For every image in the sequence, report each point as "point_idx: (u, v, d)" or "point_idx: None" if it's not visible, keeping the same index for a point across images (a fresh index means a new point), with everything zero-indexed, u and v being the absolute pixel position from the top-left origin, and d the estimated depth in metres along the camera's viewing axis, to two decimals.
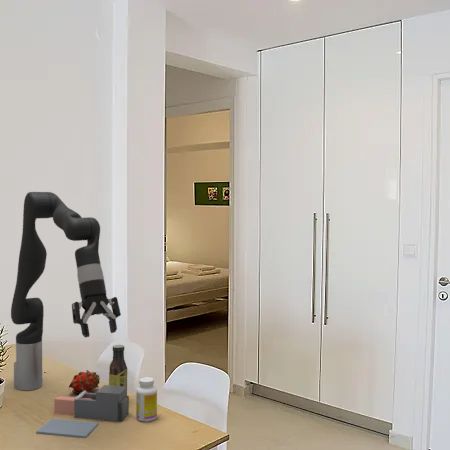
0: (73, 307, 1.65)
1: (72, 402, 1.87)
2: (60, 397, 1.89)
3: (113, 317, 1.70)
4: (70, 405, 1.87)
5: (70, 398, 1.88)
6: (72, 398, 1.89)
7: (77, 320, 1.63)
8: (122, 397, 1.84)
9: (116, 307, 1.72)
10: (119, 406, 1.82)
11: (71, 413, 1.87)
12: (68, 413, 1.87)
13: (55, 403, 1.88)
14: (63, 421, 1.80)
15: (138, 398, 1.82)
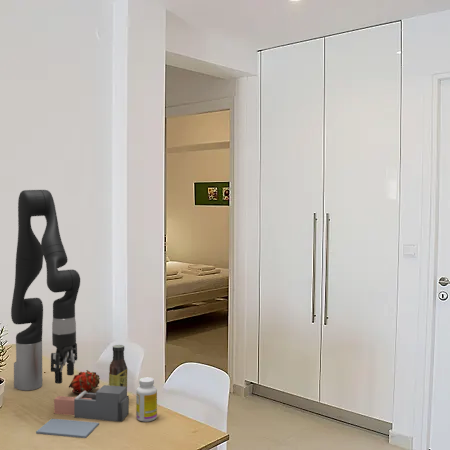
0: (54, 357, 1.81)
1: (72, 402, 1.87)
2: (60, 397, 1.89)
3: (74, 362, 1.92)
4: (70, 405, 1.87)
5: (70, 398, 1.88)
6: (72, 398, 1.89)
7: (57, 370, 1.81)
8: (122, 397, 1.84)
9: (75, 352, 1.93)
10: (119, 406, 1.82)
11: (71, 413, 1.87)
12: (68, 413, 1.87)
13: (55, 403, 1.88)
14: (63, 421, 1.80)
15: (138, 398, 1.82)
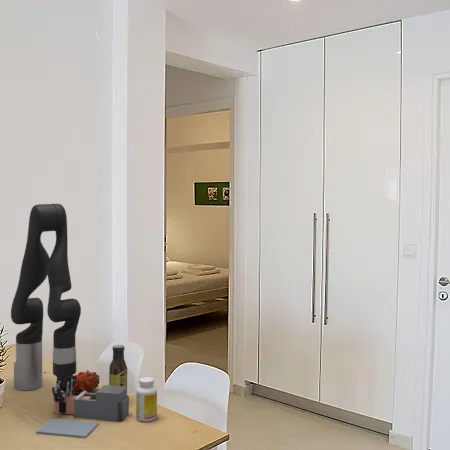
0: (55, 392, 1.82)
1: (71, 401, 1.87)
2: None
3: None
4: (69, 403, 1.87)
5: (69, 397, 1.88)
6: (71, 397, 1.89)
7: (62, 401, 1.84)
8: (122, 397, 1.84)
9: (74, 385, 1.93)
10: (119, 406, 1.82)
11: (71, 412, 1.87)
12: (68, 412, 1.87)
13: (54, 402, 1.88)
14: (63, 421, 1.80)
15: (138, 398, 1.82)
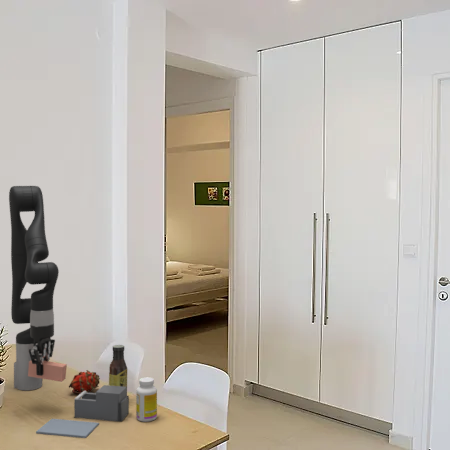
0: (32, 354, 1.83)
1: (46, 366, 1.88)
2: None
3: (48, 359, 1.91)
4: (44, 368, 1.88)
5: (45, 362, 1.89)
6: (47, 362, 1.90)
7: (39, 363, 1.85)
8: (122, 397, 1.84)
9: (52, 348, 1.94)
10: (119, 406, 1.82)
11: (44, 377, 1.88)
12: (41, 376, 1.88)
13: (29, 366, 1.89)
14: (63, 421, 1.80)
15: (138, 398, 1.82)
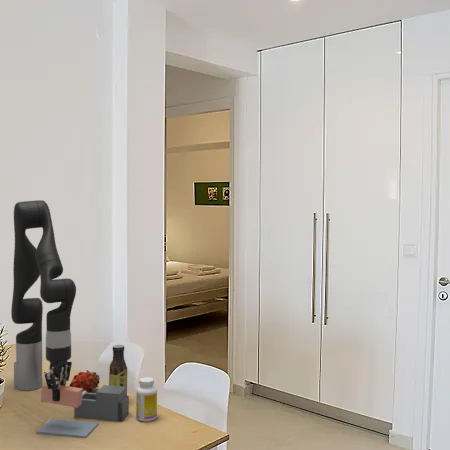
0: (48, 378, 1.69)
1: (61, 391, 1.74)
2: None
3: (65, 383, 1.77)
4: None
5: None
6: (61, 386, 1.76)
7: (55, 388, 1.71)
8: (122, 397, 1.84)
9: (69, 372, 1.80)
10: (119, 406, 1.82)
11: (59, 402, 1.74)
12: (56, 402, 1.74)
13: (43, 390, 1.75)
14: (63, 421, 1.80)
15: (138, 398, 1.82)
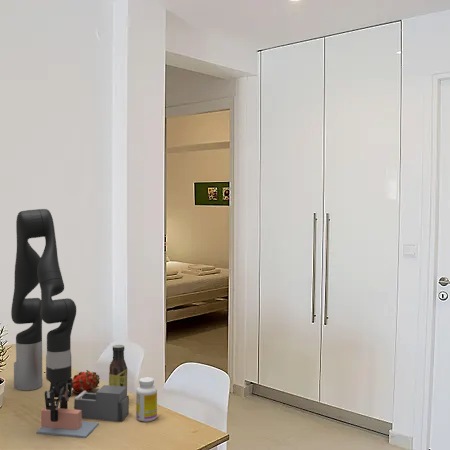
0: (48, 396, 1.69)
1: (60, 414, 1.75)
2: None
3: (67, 400, 1.79)
4: (58, 416, 1.75)
5: (58, 410, 1.76)
6: (60, 409, 1.77)
7: (53, 409, 1.70)
8: (122, 397, 1.84)
9: (70, 388, 1.81)
10: (119, 406, 1.82)
11: (59, 426, 1.75)
12: (56, 425, 1.75)
13: (42, 415, 1.76)
14: None
15: (138, 398, 1.82)
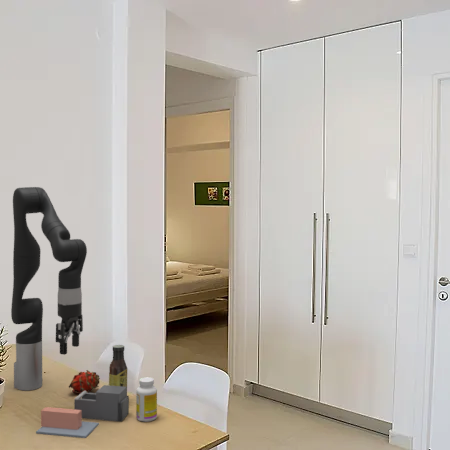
0: (59, 328, 1.77)
1: (60, 414, 1.75)
2: (47, 408, 1.77)
3: (79, 333, 1.89)
4: (58, 416, 1.75)
5: (58, 410, 1.76)
6: (60, 409, 1.77)
7: (62, 341, 1.78)
8: (122, 397, 1.84)
9: (81, 324, 1.90)
10: (119, 406, 1.82)
11: (59, 426, 1.75)
12: (56, 425, 1.75)
13: (42, 415, 1.76)
14: None
15: (138, 398, 1.82)
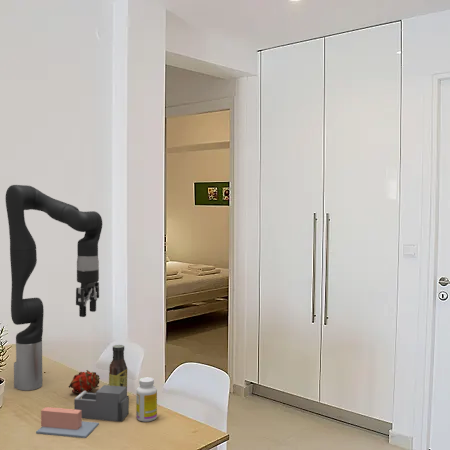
0: (79, 292, 1.93)
1: (60, 414, 1.75)
2: (47, 408, 1.77)
3: (96, 299, 2.04)
4: (58, 416, 1.75)
5: (58, 410, 1.76)
6: (60, 409, 1.77)
7: (82, 304, 1.93)
8: (122, 397, 1.84)
9: (98, 291, 2.06)
10: (119, 406, 1.82)
11: (59, 426, 1.75)
12: (56, 425, 1.75)
13: (42, 415, 1.76)
14: None
15: (138, 398, 1.82)
